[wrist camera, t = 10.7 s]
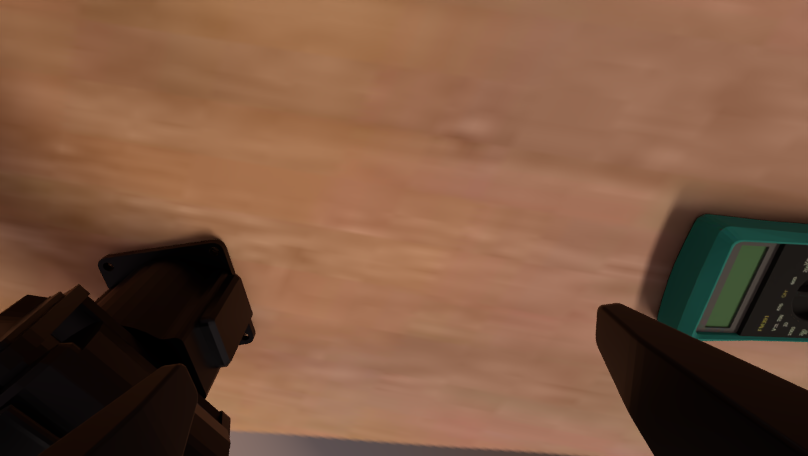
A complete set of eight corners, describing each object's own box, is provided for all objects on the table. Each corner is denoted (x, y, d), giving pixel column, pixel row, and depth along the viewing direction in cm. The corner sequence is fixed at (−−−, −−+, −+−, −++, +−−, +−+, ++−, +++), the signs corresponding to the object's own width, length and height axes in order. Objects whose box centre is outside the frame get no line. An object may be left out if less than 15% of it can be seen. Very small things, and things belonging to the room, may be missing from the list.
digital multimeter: (858, 325, 27) (911, 356, 25) (646, 317, 26) (677, 348, 23) (922, 223, 25) (990, 245, 22) (687, 208, 23) (728, 230, 21)
